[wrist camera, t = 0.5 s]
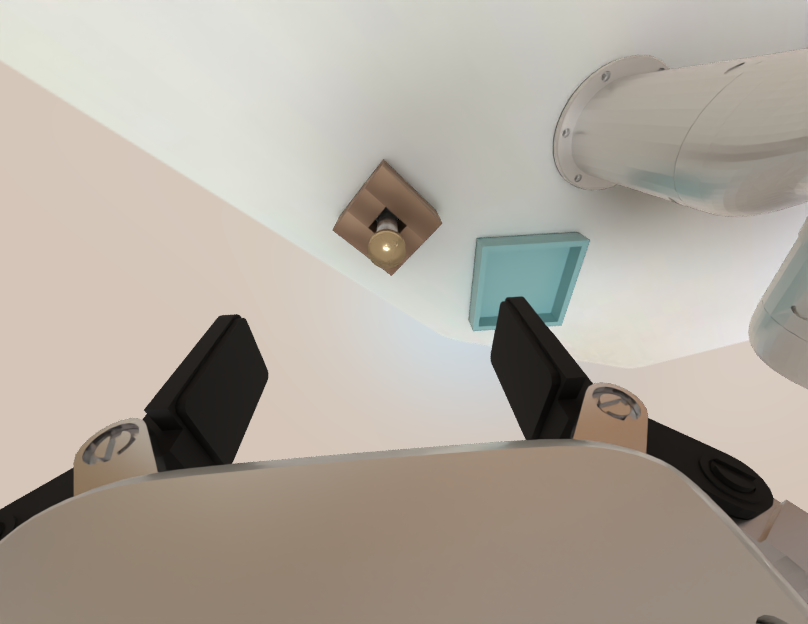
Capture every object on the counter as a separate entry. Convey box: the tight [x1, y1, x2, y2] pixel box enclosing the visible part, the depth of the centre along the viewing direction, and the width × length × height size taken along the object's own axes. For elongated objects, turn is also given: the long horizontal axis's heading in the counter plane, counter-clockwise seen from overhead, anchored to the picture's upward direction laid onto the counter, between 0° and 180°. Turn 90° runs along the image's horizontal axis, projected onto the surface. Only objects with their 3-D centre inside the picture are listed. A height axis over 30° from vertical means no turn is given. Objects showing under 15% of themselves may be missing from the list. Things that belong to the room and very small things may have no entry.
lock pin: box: [368, 207, 406, 269], centre depth 32 cm, size 4×4×12 cm
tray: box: [469, 232, 590, 331], centre depth 43 cm, size 14×14×3 cm
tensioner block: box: [333, 159, 442, 276], centre depth 35 cm, size 9×9×5 cm
